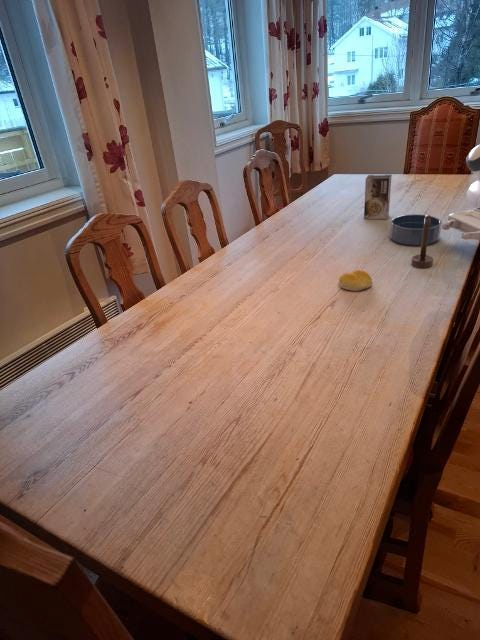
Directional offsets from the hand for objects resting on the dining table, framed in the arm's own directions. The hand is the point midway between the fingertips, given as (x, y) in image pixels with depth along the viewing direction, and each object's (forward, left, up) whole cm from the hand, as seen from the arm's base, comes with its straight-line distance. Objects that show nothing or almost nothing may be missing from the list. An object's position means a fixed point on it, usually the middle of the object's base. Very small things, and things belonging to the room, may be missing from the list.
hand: (452, 231), depth 128 cm
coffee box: (+24, -42, -9) cm, 49 cm away
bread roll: (+26, +22, -9) cm, 35 cm away
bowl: (+10, -18, -9) cm, 22 cm away
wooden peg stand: (+8, +5, -9) cm, 13 cm away
